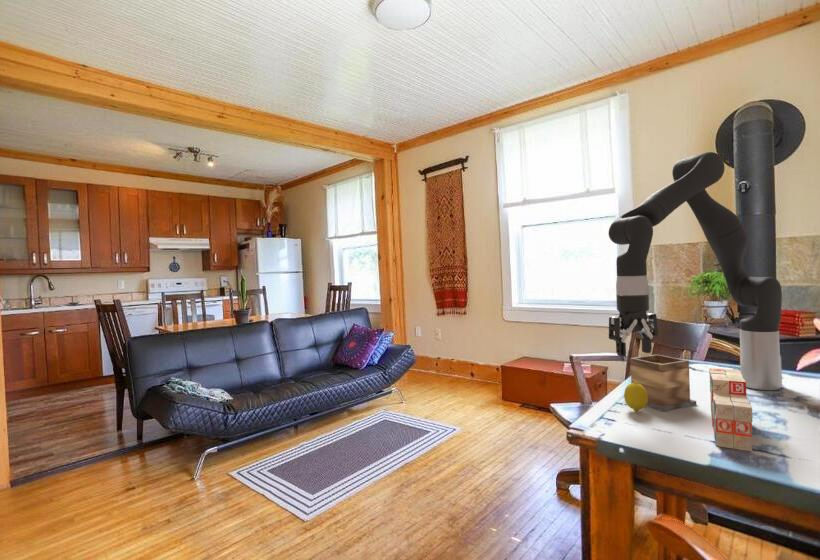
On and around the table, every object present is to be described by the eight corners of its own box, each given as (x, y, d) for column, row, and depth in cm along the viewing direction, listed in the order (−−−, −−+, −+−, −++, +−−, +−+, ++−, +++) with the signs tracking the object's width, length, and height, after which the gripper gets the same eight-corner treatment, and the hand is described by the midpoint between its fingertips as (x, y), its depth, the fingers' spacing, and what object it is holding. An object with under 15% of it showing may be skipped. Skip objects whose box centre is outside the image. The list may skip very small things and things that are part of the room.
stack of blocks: (753, 452, 85) (751, 392, 85) (715, 447, 89) (713, 389, 88) (741, 419, 103) (740, 369, 103) (710, 415, 106) (709, 367, 106)
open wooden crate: (657, 393, 125) (656, 353, 125) (696, 404, 114) (695, 360, 114) (626, 399, 121) (624, 357, 121) (663, 411, 110) (661, 366, 110)
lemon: (651, 415, 108) (650, 384, 107) (628, 415, 109) (627, 384, 109) (644, 408, 113) (643, 379, 113) (622, 408, 114) (621, 379, 114)
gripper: (640, 291, 116) (642, 349, 116) (599, 294, 111) (601, 354, 112) (665, 292, 109) (667, 354, 109) (622, 295, 104) (624, 360, 105)
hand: (634, 354), depth 111 cm, fingers open, 8 cm apart
